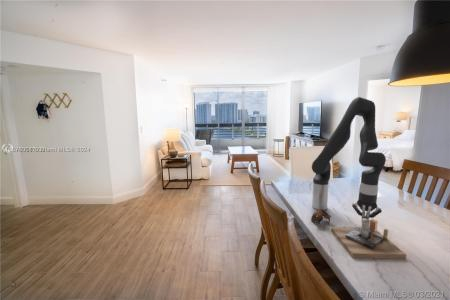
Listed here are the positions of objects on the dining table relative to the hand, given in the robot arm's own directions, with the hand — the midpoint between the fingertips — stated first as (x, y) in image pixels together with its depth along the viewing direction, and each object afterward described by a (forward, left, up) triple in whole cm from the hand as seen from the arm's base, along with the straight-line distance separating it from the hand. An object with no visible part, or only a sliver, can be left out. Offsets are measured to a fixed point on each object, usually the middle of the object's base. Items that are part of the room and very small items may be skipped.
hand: (364, 223), depth 107 cm
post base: (+7, -4, -6) cm, 11 cm away
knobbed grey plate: (+6, -3, -4) cm, 8 cm away
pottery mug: (-12, -18, -6) cm, 22 cm away
